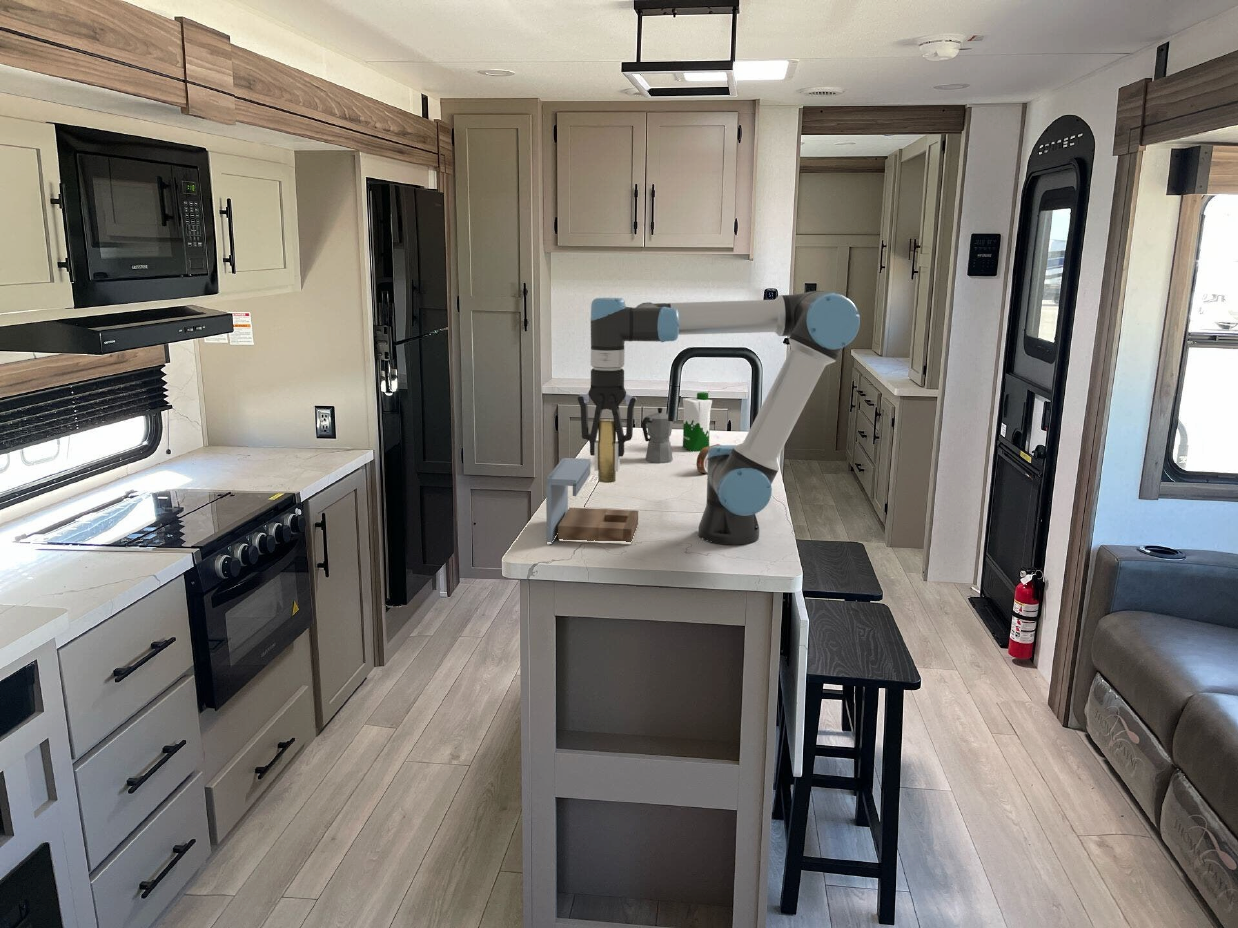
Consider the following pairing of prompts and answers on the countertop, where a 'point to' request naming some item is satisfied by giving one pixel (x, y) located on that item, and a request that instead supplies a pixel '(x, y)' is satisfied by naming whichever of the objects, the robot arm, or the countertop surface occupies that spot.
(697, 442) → the milk carton
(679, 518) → the countertop surface
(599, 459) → the peg
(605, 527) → the socket block
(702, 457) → the brown curved piece
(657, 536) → the countertop surface
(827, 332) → the robot arm
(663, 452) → the coffeepot
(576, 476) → the blue-grey hooked bracket
